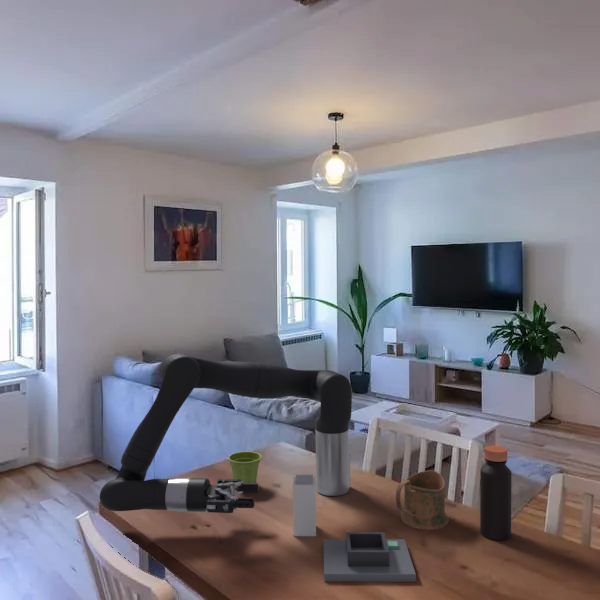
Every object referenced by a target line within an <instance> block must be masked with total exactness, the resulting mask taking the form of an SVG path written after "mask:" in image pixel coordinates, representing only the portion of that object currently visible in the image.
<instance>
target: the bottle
mask: <svg viewBox="0 0 600 600" xmlns="http://www.w3.org/2000/svg"><path fill="white" fill-rule="evenodd" d="M484 460H485V463H484V464H483V465H482V466H480V470H479V471H480V476H479V478H480V480H479V482H480V489H479V492H480V493H479V494H480V495H479V497H480V498H479V500H480V501H479V506H480V507H479V508H480V510H479V512H480V513H479V514H480V515H479V517H480V518H479V525H480V528H479V529H480V530H479V531H480V533H481V535H483V536H484V537H485V538H487V539H490V540H493V541H507V540H509V539H511V536H512V470H511V469H510V468H509V467H508V465H506V464H507V462H508V448H506V447H504V446H500V445H488V446H485V447H484Z"/></svg>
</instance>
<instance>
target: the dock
mask: <svg viewBox="0 0 600 600" xmlns="http://www.w3.org/2000/svg"><path fill="white" fill-rule="evenodd" d="M410 555H411V554H410V551H409V549H408V545H407V543H406V539H404V538H403V539H400V538H399V539H390V538H389V539H388V538H386V533H385V531H384V532H382V531H380V532H379V531H378V532H377V531H376V532H374V531H372V532H371V531H369V532H368V531H366V532H365V531H361V532H359V531H358V532H357V531H353V532H349V531H346V532H345V539H344V538H343V539H341V538H340V539H333V538H332V539H331V538H330V539H328V538H327V539H326V538H325V539H323V580H324V581H323V582H365V583H367V582H369V583H370V582H371V583H372V582H374V583H375V582H383V583H384V582H394V583H395V582H397V583H398V582H400V583H401V582H408V583H409V582H413V583H414V582H415V583H416V582H417V574H416V570H415V568H414V565H413V561H412V558H411V556H410Z"/></svg>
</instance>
